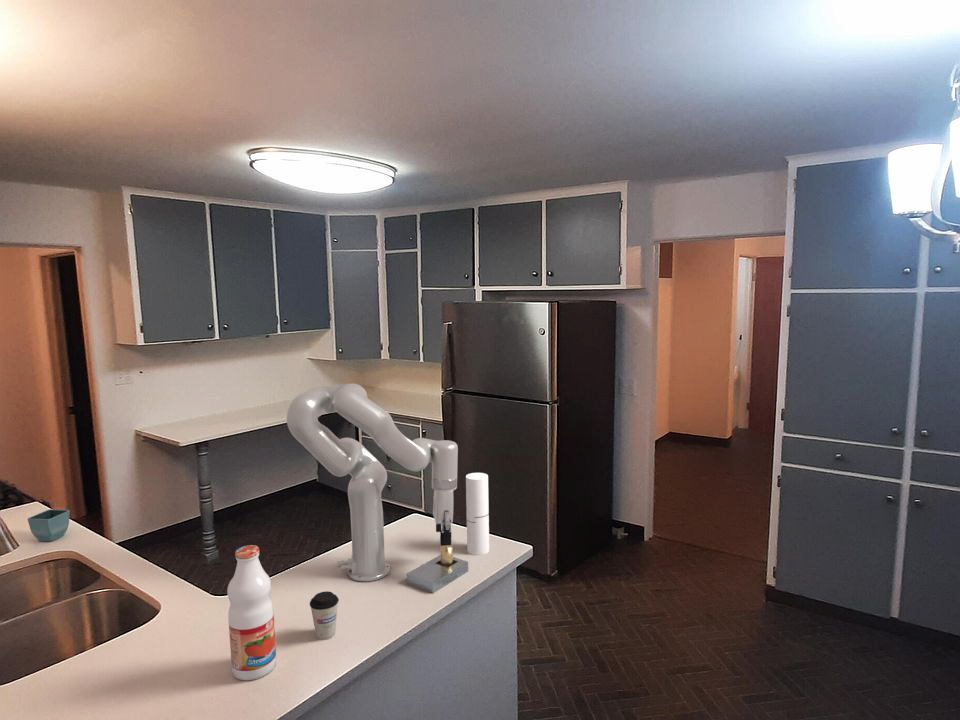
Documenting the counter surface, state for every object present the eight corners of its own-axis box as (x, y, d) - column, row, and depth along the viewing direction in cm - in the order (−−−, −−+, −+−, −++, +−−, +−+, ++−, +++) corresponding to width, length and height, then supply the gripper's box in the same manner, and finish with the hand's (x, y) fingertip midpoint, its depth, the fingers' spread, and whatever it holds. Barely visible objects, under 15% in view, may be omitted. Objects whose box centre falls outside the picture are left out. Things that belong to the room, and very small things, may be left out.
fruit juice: (253, 651, 139) (246, 538, 135) (285, 660, 135) (278, 543, 132) (222, 676, 130) (214, 555, 127) (256, 685, 126) (248, 561, 123)
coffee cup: (309, 630, 147) (307, 592, 146) (337, 624, 150) (335, 586, 149) (313, 645, 141) (311, 606, 139) (342, 638, 143) (340, 599, 142)
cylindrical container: (489, 555, 188) (488, 479, 185) (466, 555, 188) (465, 479, 185) (489, 545, 195) (488, 472, 192) (467, 545, 195) (466, 472, 192)
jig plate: (433, 593, 164) (433, 583, 164) (407, 583, 170) (406, 573, 170) (468, 571, 177) (468, 561, 177) (442, 562, 183) (442, 553, 183)
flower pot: (28, 543, 202) (26, 518, 201) (51, 533, 211) (48, 509, 210) (51, 544, 201) (48, 519, 200) (72, 534, 210) (70, 510, 208)
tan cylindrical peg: (441, 575, 175) (441, 549, 174) (439, 569, 178) (439, 544, 177) (454, 574, 175) (453, 548, 174) (452, 568, 179) (451, 543, 178)
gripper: (428, 474, 181) (427, 527, 183) (435, 493, 165) (434, 551, 166) (452, 473, 183) (451, 526, 185) (461, 492, 166) (460, 549, 168)
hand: (443, 538), depth 176 cm, fingers open, 9 cm apart
